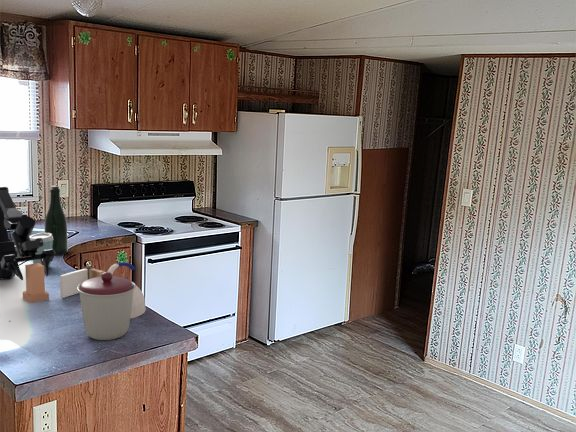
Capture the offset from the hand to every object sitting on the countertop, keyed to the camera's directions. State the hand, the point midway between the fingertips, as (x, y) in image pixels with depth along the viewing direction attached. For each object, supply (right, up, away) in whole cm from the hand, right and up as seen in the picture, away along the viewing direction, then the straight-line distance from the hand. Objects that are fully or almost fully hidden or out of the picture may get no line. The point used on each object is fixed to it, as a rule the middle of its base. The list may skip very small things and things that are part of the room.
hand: (35, 277), depth 217 cm
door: (+11, -7, +9) cm, 16 cm away
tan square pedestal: (-1, -8, +2) cm, 8 cm away
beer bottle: (-18, +5, +66) cm, 69 cm away
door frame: (+12, -6, +16) cm, 21 cm away
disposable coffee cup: (-15, 0, +41) cm, 43 cm away
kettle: (+33, -12, -6) cm, 35 cm away
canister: (+36, -16, -28) cm, 48 cm away
